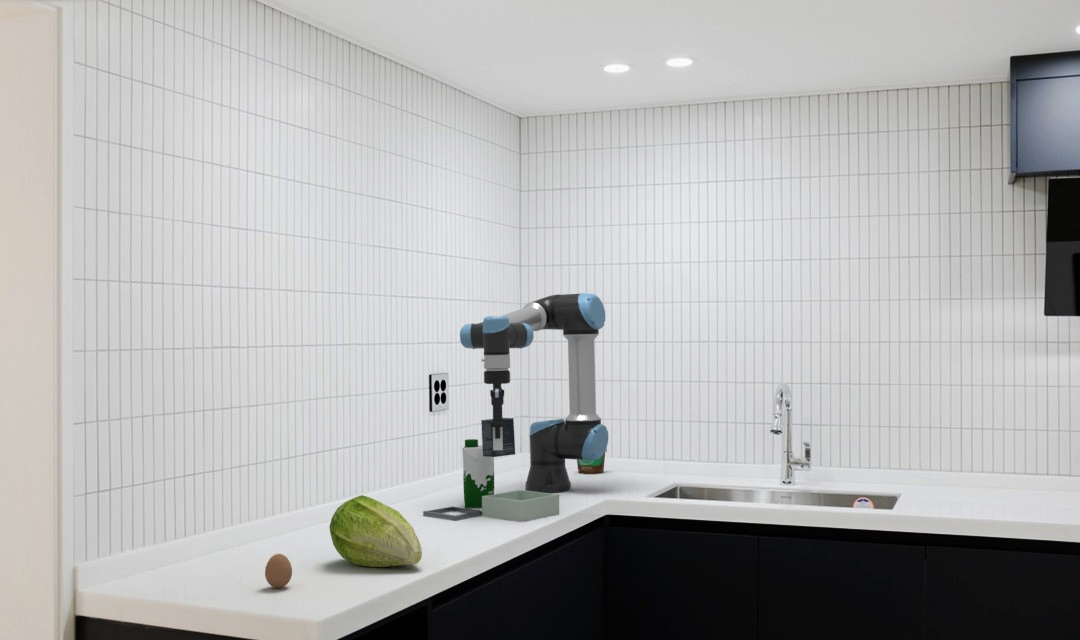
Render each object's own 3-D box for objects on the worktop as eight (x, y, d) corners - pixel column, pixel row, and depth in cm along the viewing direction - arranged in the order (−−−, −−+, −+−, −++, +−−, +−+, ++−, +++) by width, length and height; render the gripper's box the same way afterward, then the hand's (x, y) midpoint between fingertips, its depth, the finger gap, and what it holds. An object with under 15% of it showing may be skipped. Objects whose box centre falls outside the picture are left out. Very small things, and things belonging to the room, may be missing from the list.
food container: (572, 474, 389) (571, 447, 389) (574, 472, 395) (574, 445, 395) (605, 474, 387) (605, 447, 387) (607, 472, 393) (606, 445, 393)
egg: (259, 590, 216) (259, 555, 216) (275, 584, 221) (275, 550, 221) (282, 592, 214) (281, 557, 214) (297, 585, 219) (297, 552, 219)
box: (503, 454, 307) (502, 417, 308) (515, 455, 303) (514, 418, 303) (481, 456, 302) (480, 419, 302) (494, 457, 298) (492, 419, 298)
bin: (519, 508, 313) (519, 489, 313) (559, 514, 302) (558, 494, 302) (482, 515, 301) (481, 496, 301) (521, 521, 291) (521, 501, 291)
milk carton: (468, 503, 324) (467, 438, 324) (497, 504, 322) (496, 438, 323) (460, 508, 315) (459, 441, 316) (490, 508, 314) (489, 441, 314)
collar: (452, 510, 312) (452, 506, 312) (484, 515, 303) (484, 510, 303) (423, 515, 303) (423, 511, 303) (455, 520, 294) (455, 516, 294)
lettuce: (437, 580, 238) (385, 600, 226) (364, 536, 253) (311, 553, 241) (446, 520, 235) (394, 537, 223) (372, 478, 249) (319, 493, 237)
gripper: (485, 368, 314) (486, 444, 314) (482, 371, 292) (483, 452, 292) (510, 368, 314) (511, 443, 314) (509, 371, 292) (511, 452, 292)
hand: (498, 448), depth 303 cm, fingers closed on box, 9 cm apart
